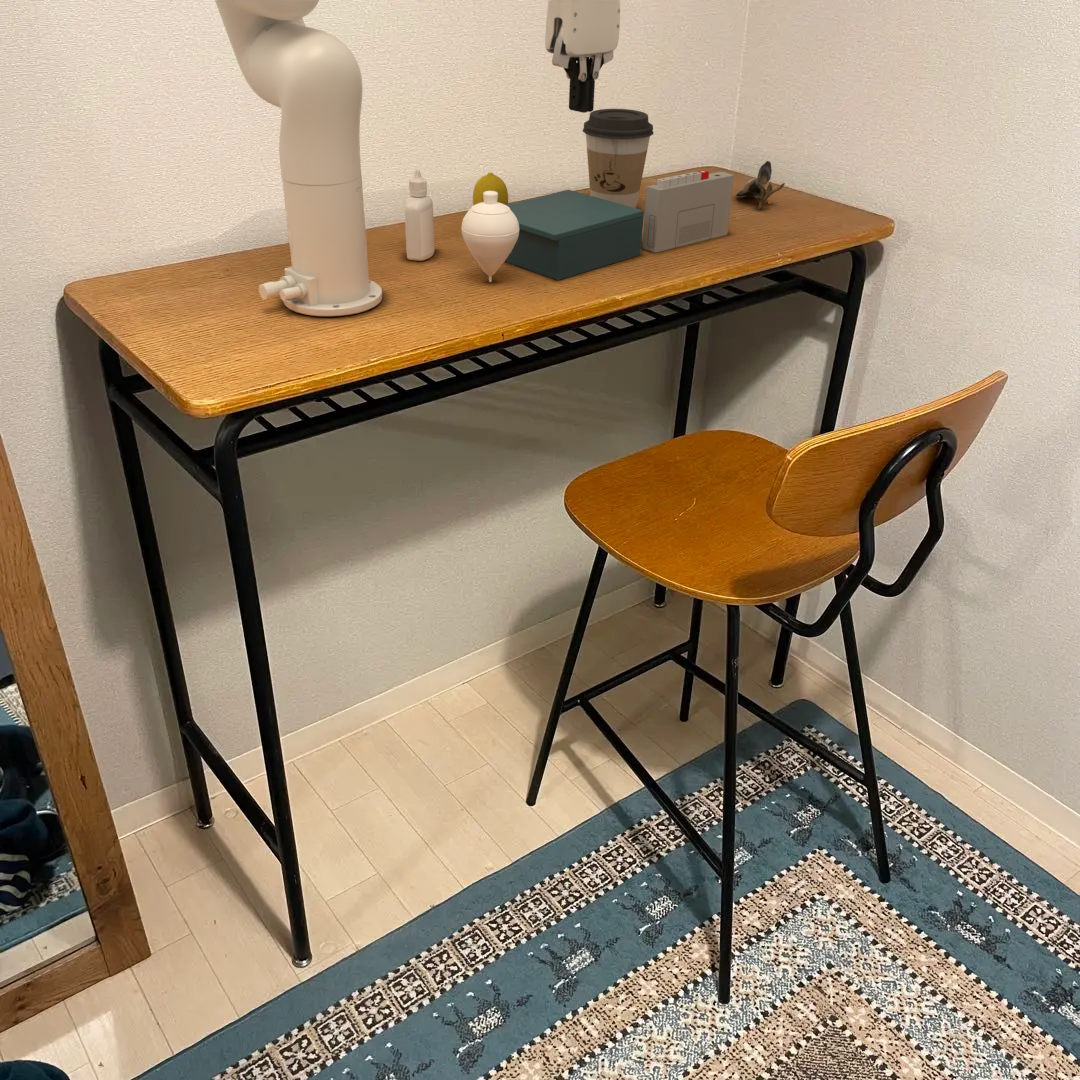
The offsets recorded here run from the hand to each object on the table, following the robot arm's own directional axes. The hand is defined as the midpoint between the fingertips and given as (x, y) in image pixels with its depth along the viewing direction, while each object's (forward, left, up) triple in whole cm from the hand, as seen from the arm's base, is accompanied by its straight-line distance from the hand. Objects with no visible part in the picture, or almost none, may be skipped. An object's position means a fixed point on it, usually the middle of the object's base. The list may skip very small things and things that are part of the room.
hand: (580, 110), depth 143 cm
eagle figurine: (+42, -2, -20) cm, 47 cm away
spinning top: (-19, -2, -20) cm, 27 cm away
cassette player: (+16, -8, -20) cm, 27 cm away
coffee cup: (+20, +11, -20) cm, 30 cm away
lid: (-3, 0, -14) cm, 14 cm away
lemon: (-1, +18, -20) cm, 27 cm away
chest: (-3, 0, -20) cm, 20 cm away
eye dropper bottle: (-19, +13, -20) cm, 30 cm away
